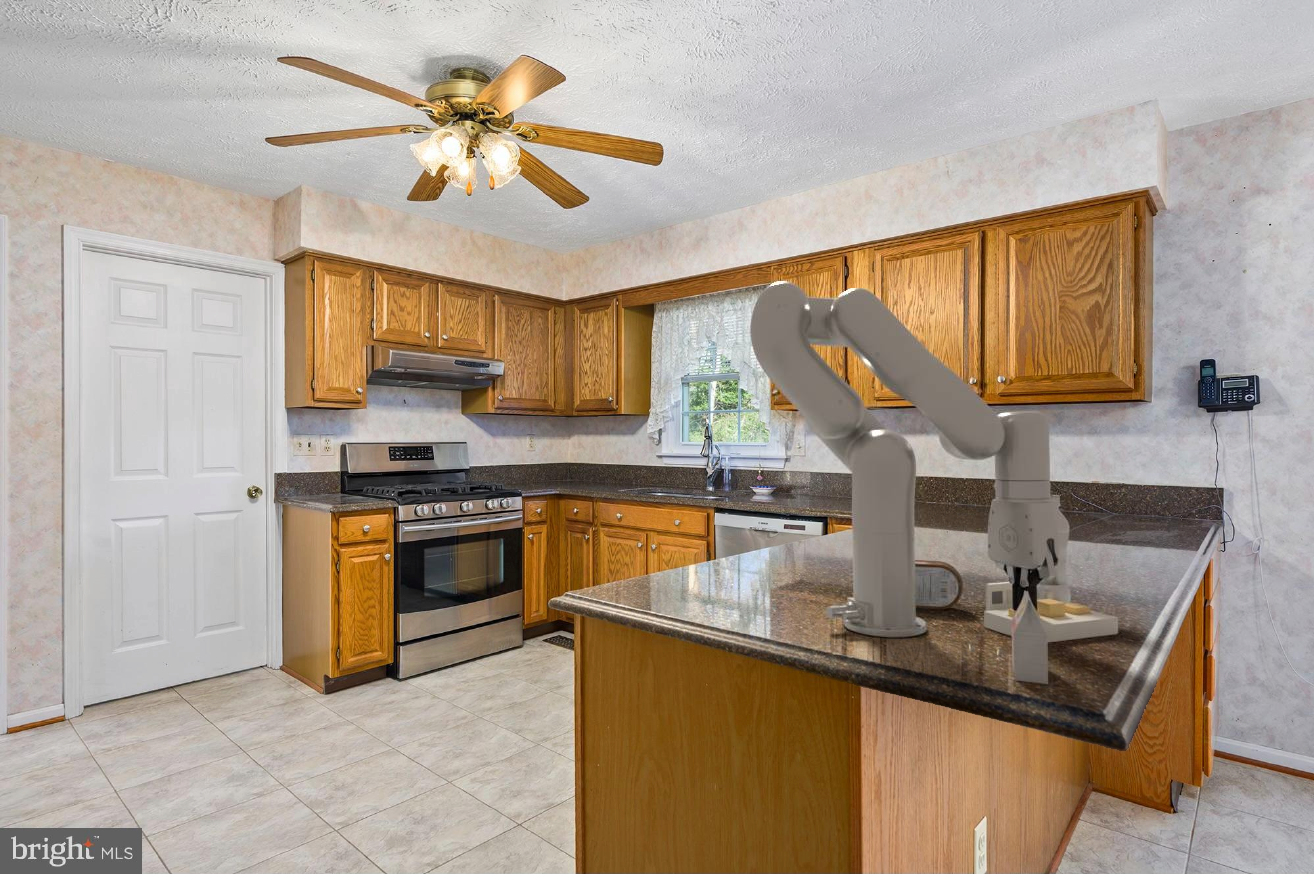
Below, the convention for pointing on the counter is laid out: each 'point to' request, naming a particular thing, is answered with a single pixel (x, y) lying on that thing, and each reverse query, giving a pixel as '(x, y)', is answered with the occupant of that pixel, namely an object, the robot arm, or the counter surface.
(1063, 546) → the plastic bottle
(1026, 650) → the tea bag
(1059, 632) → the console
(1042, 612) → the button mid
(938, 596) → the tin
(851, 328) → the robot arm
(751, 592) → the counter surface
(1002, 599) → the card
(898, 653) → the counter surface
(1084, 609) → the button far
